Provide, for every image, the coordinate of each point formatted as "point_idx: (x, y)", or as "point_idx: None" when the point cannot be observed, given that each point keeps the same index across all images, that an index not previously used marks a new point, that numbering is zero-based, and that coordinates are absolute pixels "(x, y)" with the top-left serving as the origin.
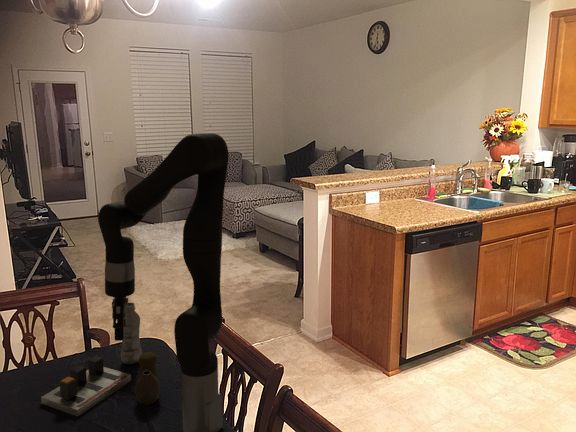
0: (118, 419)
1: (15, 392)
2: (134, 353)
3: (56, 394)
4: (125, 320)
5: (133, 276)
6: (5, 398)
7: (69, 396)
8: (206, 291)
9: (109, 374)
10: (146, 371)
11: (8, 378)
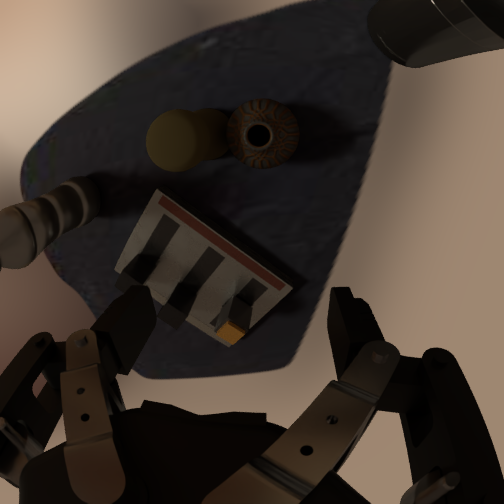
0: (328, 198)
1: (191, 368)
2: (83, 194)
3: None
4: (127, 301)
5: None
6: (207, 376)
7: (249, 310)
8: None
9: (152, 239)
10: (247, 137)
11: (153, 376)
